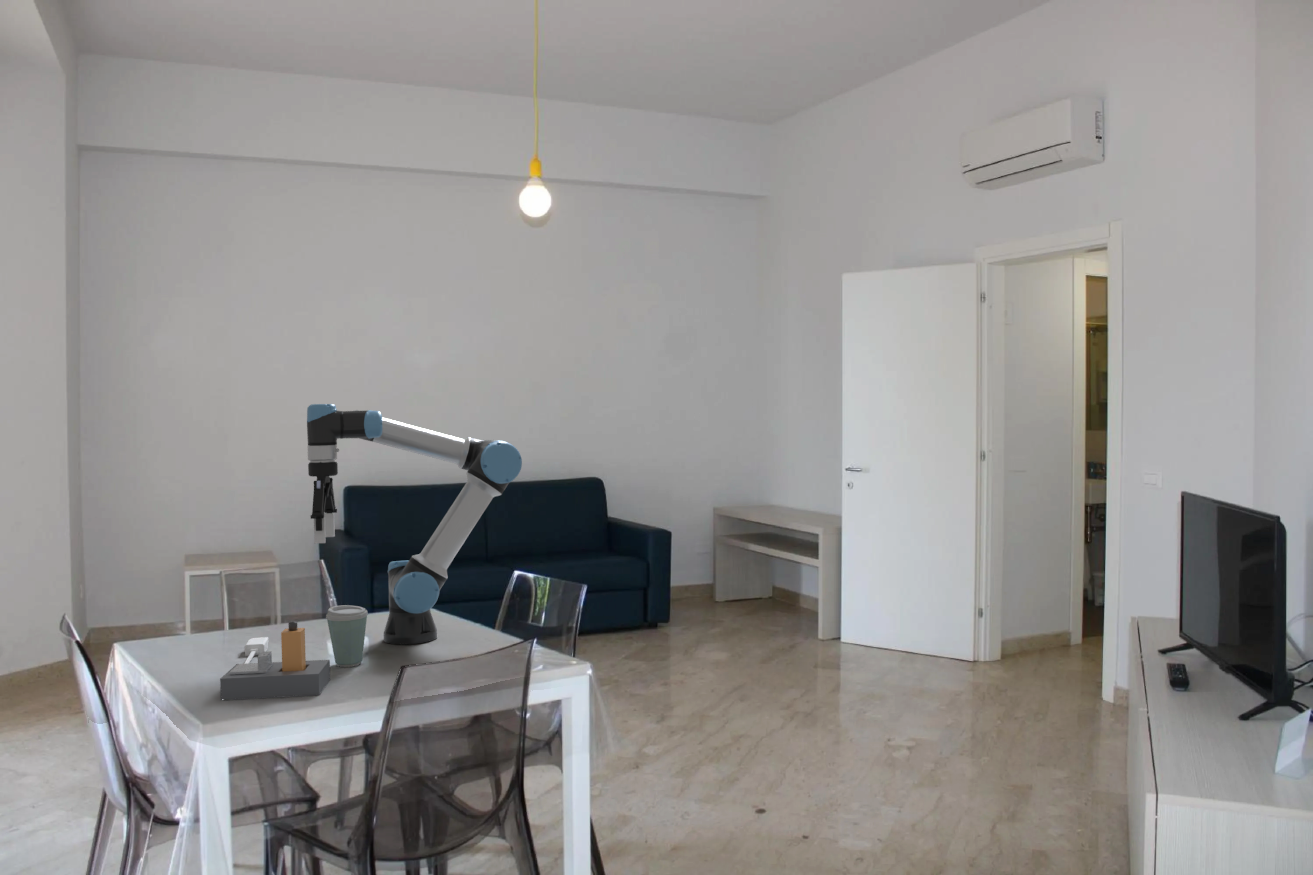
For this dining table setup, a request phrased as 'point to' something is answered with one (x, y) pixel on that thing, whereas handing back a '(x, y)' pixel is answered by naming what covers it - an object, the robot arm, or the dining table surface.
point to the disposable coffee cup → (347, 633)
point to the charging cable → (255, 647)
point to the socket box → (277, 682)
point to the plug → (293, 648)
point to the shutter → (255, 665)
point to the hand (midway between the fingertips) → (324, 540)
